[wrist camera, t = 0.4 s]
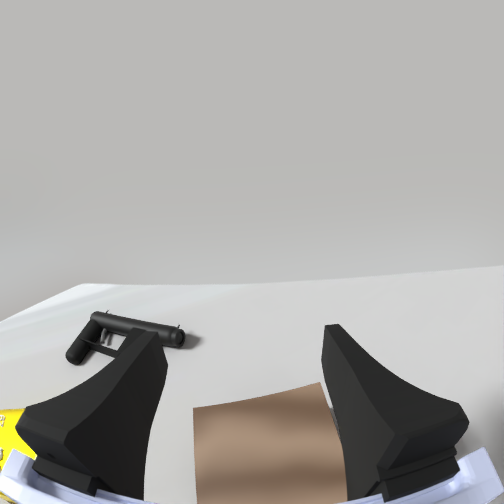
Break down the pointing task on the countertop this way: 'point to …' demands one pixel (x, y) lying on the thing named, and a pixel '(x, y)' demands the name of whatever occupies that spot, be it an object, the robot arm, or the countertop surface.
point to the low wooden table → (269, 451)
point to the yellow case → (11, 439)
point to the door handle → (120, 326)
